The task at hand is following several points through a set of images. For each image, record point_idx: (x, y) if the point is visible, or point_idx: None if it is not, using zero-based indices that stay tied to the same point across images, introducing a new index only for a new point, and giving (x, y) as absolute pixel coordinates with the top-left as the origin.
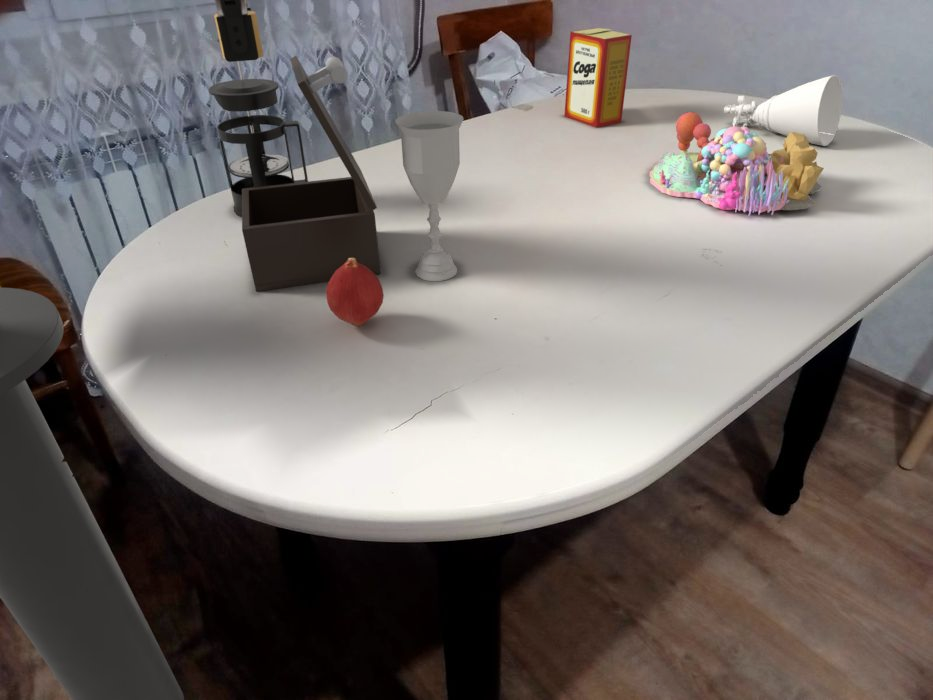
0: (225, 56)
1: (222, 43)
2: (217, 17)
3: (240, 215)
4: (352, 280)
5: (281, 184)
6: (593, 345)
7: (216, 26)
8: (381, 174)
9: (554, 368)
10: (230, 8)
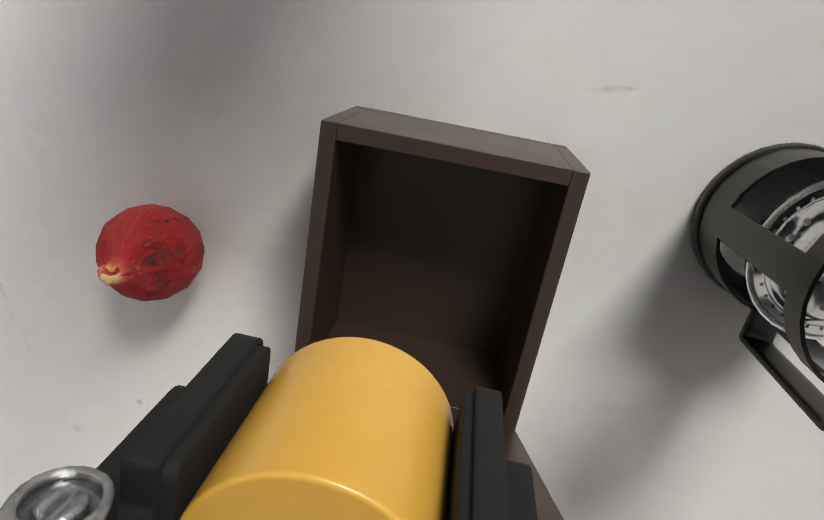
0: (231, 341)
1: (202, 372)
2: (123, 464)
3: (753, 152)
4: (97, 258)
5: (560, 269)
6: (50, 461)
7: (326, 428)
8: (789, 496)
9: (17, 402)
10: None
